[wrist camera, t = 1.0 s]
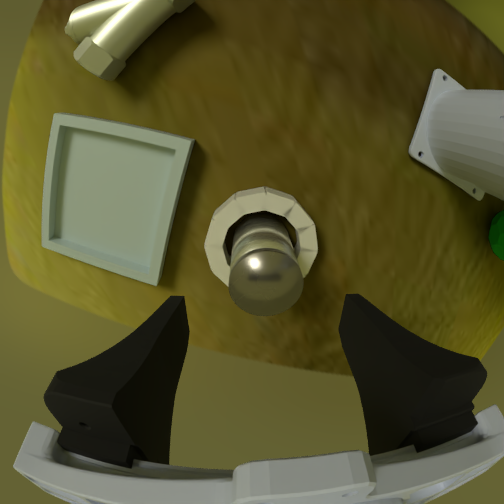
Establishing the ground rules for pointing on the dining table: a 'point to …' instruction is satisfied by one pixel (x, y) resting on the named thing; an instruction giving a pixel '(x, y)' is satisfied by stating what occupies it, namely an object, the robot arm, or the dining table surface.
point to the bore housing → (254, 203)
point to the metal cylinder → (264, 266)
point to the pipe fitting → (116, 31)
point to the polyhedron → (497, 235)
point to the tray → (112, 193)
